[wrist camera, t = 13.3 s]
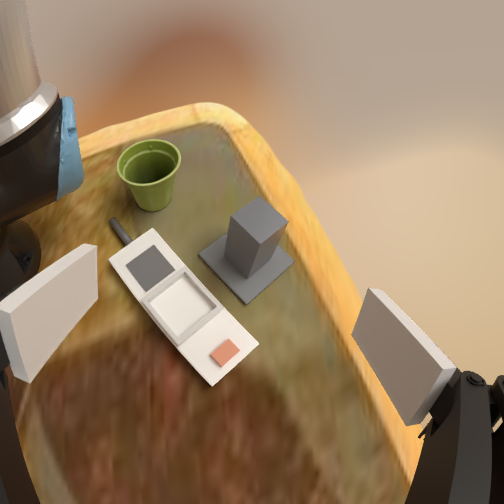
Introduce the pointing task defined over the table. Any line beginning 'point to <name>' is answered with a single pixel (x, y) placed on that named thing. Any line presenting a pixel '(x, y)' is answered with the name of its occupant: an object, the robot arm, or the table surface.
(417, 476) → the robot arm
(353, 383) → the table surface
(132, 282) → the white slab
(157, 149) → the plant pot
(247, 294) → the pad
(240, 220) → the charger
